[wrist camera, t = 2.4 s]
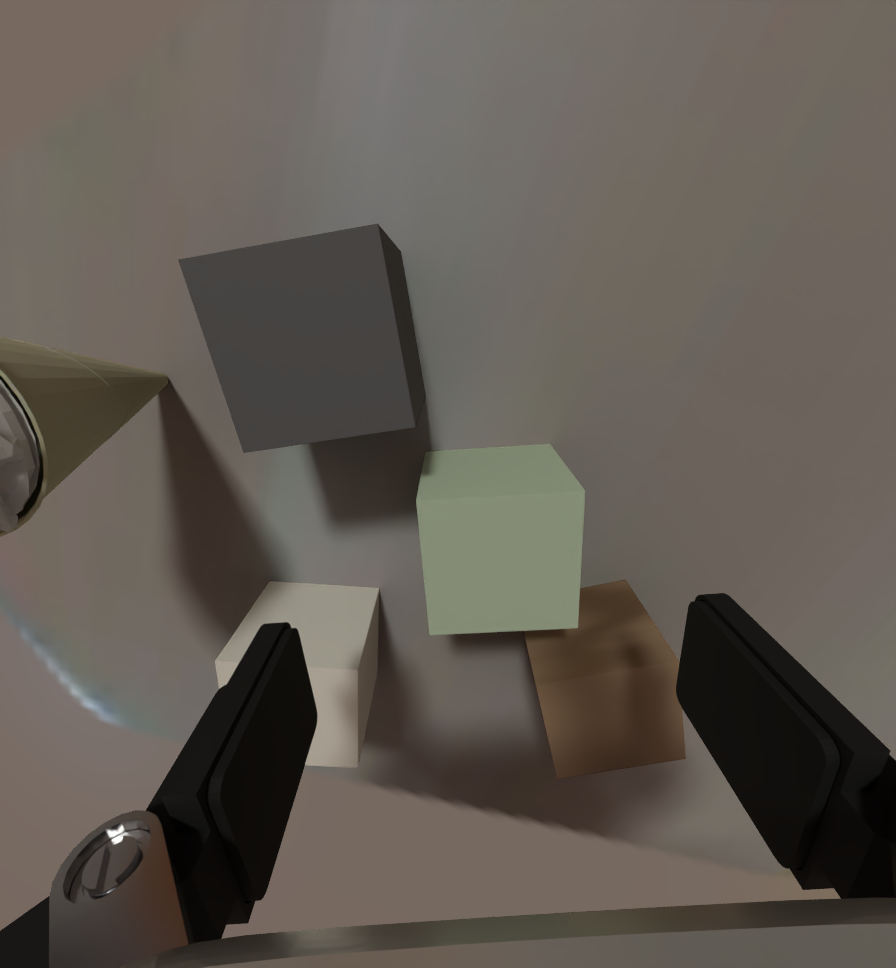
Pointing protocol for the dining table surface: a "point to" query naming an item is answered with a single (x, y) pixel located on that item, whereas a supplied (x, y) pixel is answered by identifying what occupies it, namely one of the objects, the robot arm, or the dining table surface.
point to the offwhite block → (323, 658)
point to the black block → (310, 337)
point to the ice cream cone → (58, 418)
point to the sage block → (500, 540)
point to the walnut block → (607, 686)
